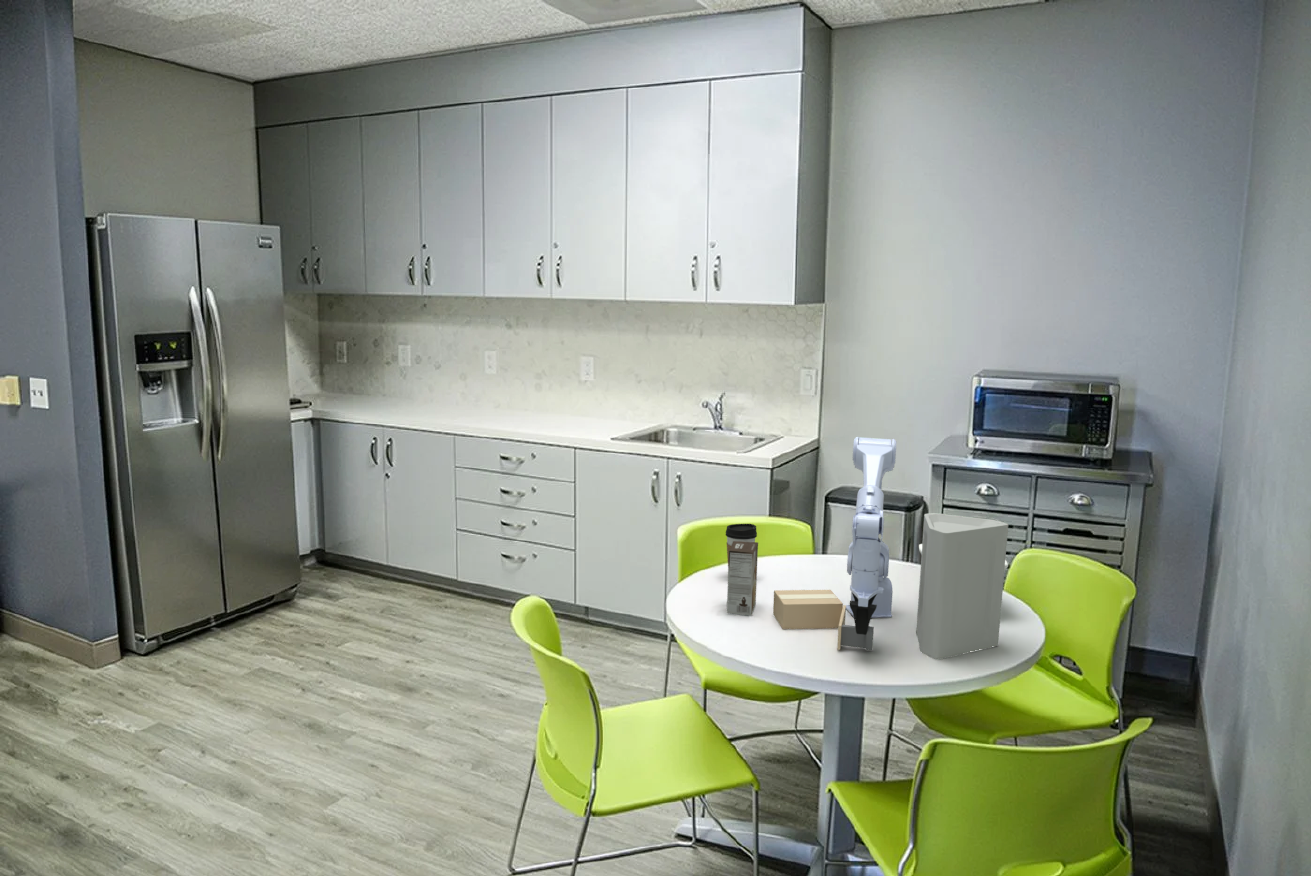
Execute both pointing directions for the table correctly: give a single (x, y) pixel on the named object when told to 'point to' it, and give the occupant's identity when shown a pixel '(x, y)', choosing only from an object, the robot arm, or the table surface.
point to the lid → (853, 635)
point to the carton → (807, 609)
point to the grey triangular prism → (960, 584)
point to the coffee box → (742, 578)
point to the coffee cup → (740, 534)
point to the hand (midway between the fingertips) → (861, 627)
